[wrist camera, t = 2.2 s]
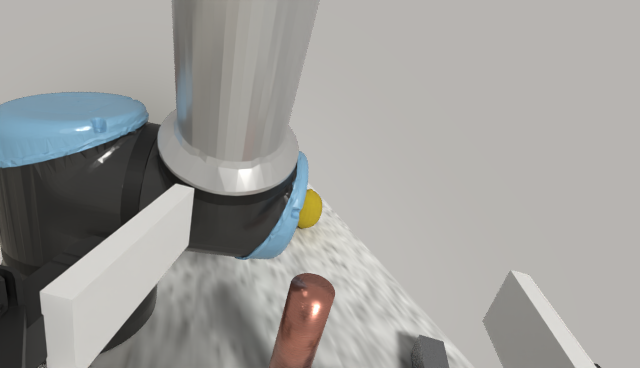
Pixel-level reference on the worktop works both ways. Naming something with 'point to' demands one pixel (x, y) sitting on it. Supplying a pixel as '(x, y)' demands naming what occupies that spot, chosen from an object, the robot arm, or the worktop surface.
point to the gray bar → (429, 353)
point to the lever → (302, 321)
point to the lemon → (310, 210)
